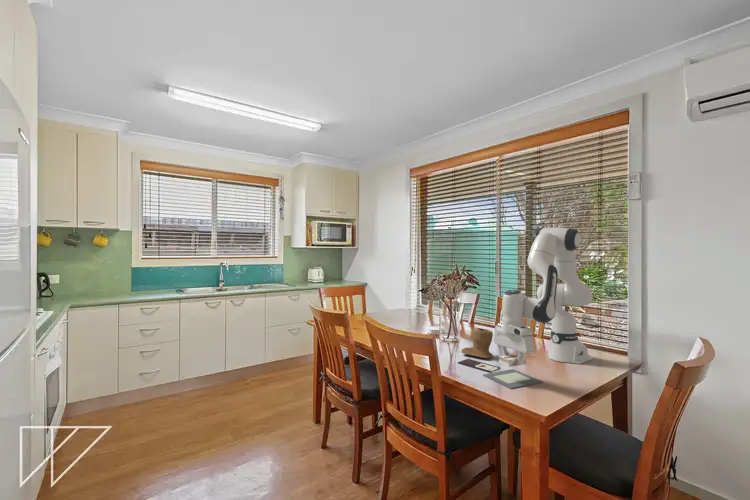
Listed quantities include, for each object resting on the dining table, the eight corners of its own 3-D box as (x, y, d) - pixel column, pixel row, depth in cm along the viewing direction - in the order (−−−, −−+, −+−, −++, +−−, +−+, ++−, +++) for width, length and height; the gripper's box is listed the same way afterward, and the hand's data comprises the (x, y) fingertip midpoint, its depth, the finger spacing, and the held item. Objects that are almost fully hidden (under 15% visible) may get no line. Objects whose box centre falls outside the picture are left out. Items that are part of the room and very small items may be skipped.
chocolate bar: (467, 358, 187) (499, 367, 173) (467, 360, 187) (499, 369, 173) (457, 362, 181) (489, 371, 167) (457, 364, 181) (489, 373, 167)
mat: (513, 370, 171) (513, 368, 171) (542, 382, 155) (542, 381, 155) (482, 375, 164) (482, 374, 164) (510, 389, 148) (510, 387, 148)
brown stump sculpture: (497, 356, 192) (497, 328, 192) (486, 361, 184) (486, 332, 184) (471, 350, 203) (471, 324, 203) (460, 355, 194) (460, 327, 194)
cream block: (508, 367, 154) (508, 359, 154) (498, 363, 160) (498, 356, 160) (526, 364, 158) (526, 357, 158) (515, 360, 164) (515, 353, 164)
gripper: (490, 323, 167) (490, 353, 167) (525, 332, 149) (525, 366, 149) (500, 322, 170) (500, 351, 170) (536, 331, 151) (536, 364, 151)
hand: (512, 358), depth 159 cm, fingers closed on cream block, 6 cm apart
